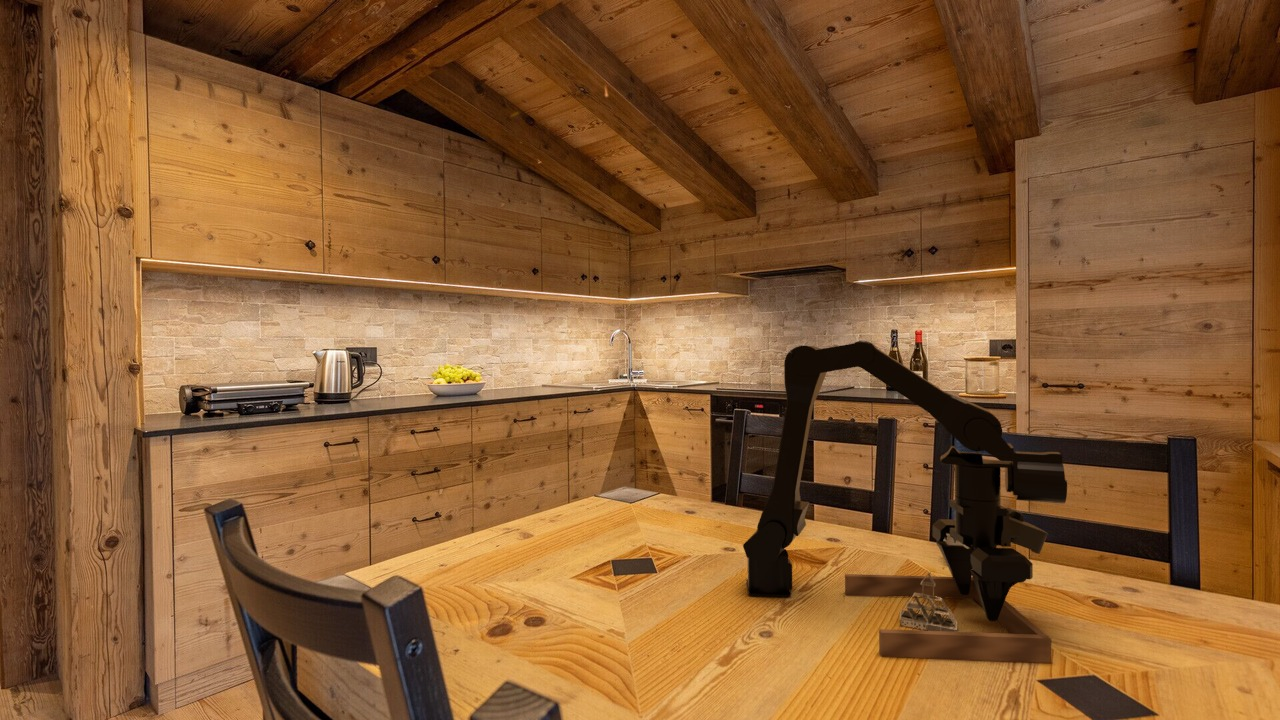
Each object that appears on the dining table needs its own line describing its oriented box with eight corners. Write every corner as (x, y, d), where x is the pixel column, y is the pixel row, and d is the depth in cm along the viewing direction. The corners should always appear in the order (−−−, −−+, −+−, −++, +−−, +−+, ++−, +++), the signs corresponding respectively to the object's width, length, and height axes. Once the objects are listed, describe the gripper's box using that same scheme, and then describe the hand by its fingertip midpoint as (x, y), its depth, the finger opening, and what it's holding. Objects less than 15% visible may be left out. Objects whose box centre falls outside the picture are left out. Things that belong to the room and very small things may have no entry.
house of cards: (973, 618, 90) (972, 565, 90) (970, 642, 83) (970, 584, 83) (905, 606, 95) (905, 555, 95) (897, 628, 87) (897, 573, 87)
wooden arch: (881, 656, 79) (881, 632, 79) (845, 592, 100) (844, 574, 99) (1051, 663, 76) (1051, 638, 76) (977, 596, 97) (977, 577, 97)
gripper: (1077, 515, 78) (1077, 639, 79) (1006, 484, 97) (1006, 584, 97) (983, 513, 80) (983, 635, 80) (931, 482, 98) (931, 582, 98)
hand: (977, 606), depth 89 cm, fingers open, 9 cm apart
